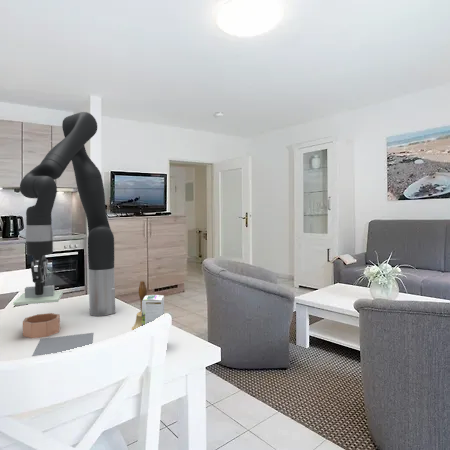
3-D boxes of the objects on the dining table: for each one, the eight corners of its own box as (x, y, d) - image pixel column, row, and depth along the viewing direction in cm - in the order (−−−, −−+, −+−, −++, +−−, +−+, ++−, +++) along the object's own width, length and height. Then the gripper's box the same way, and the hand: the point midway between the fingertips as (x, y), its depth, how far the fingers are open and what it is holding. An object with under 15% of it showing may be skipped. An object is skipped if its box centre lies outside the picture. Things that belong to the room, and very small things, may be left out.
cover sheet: (63, 293, 116) (63, 282, 116) (58, 302, 105) (58, 289, 105) (23, 295, 112) (22, 284, 112) (13, 305, 101) (13, 292, 101)
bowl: (61, 326, 116) (61, 312, 115) (57, 337, 106) (57, 321, 106) (27, 330, 112) (27, 315, 112) (20, 341, 103) (20, 324, 103)
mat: (93, 334, 108) (93, 332, 108) (92, 350, 96) (92, 348, 96) (40, 340, 103) (40, 338, 103) (31, 358, 91) (31, 356, 91)
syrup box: (144, 343, 101) (143, 294, 100) (164, 342, 101) (164, 294, 101) (141, 351, 95) (140, 300, 94) (162, 350, 95) (162, 299, 95)
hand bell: (132, 335, 107) (131, 285, 107) (129, 327, 115) (128, 280, 114) (158, 331, 111) (158, 282, 110) (154, 323, 118) (153, 278, 117)
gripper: (48, 241, 103) (49, 298, 103) (55, 237, 116) (56, 288, 116) (20, 241, 100) (21, 300, 101) (30, 237, 113) (31, 289, 114)
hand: (40, 293), depth 109 cm, fingers closed on cover sheet, 2 cm apart
